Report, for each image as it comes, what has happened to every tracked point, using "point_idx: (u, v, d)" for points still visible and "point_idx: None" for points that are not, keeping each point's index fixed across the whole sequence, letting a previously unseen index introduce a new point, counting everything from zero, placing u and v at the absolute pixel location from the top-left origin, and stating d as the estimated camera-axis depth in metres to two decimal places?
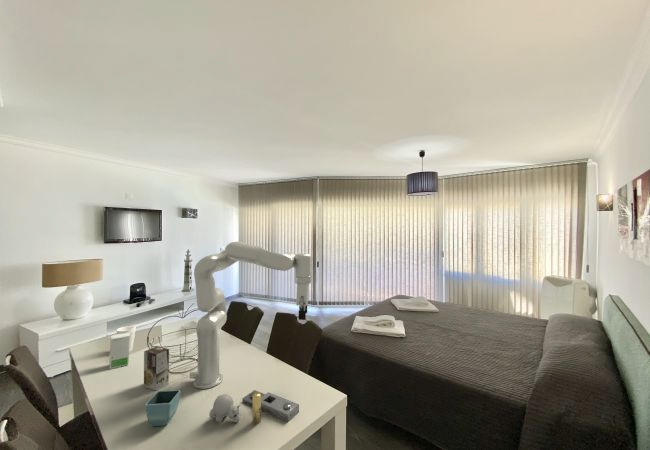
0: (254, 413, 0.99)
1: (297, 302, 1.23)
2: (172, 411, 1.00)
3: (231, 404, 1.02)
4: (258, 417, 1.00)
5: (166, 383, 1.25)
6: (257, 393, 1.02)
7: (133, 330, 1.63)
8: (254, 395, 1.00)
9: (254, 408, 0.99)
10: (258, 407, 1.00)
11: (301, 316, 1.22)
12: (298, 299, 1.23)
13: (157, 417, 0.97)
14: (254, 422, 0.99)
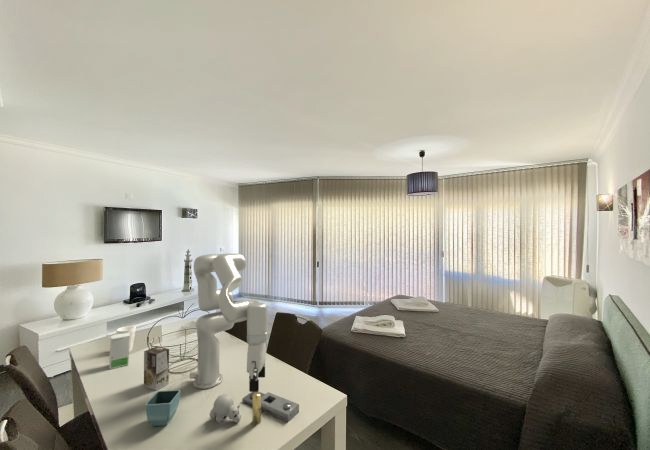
0: (254, 413, 0.99)
1: (247, 369, 0.96)
2: (172, 411, 1.00)
3: (231, 404, 1.02)
4: (258, 417, 1.00)
5: (166, 383, 1.25)
6: (257, 393, 1.02)
7: (133, 330, 1.63)
8: (254, 395, 1.00)
9: (254, 408, 0.99)
10: (258, 407, 1.00)
11: (252, 387, 0.95)
12: (249, 365, 0.96)
13: (157, 417, 0.97)
14: (254, 422, 0.99)
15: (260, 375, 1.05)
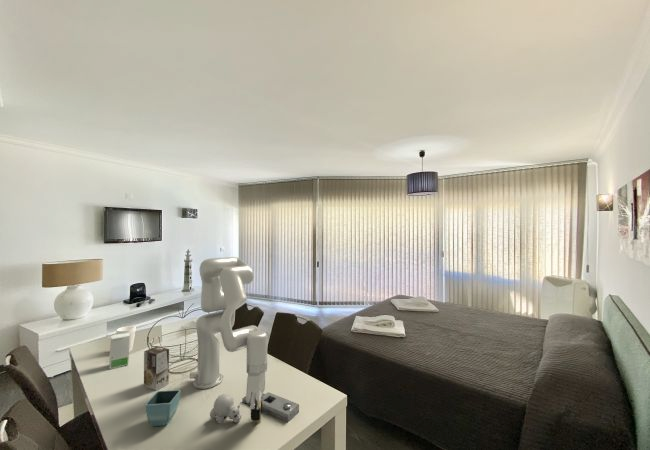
0: None
1: (247, 399, 0.96)
2: (172, 411, 1.00)
3: (231, 404, 1.02)
4: None
5: (166, 383, 1.25)
6: None
7: (133, 330, 1.63)
8: None
9: None
10: None
11: (254, 416, 0.98)
12: (248, 396, 0.96)
13: (157, 417, 0.97)
14: (254, 422, 0.99)
15: None
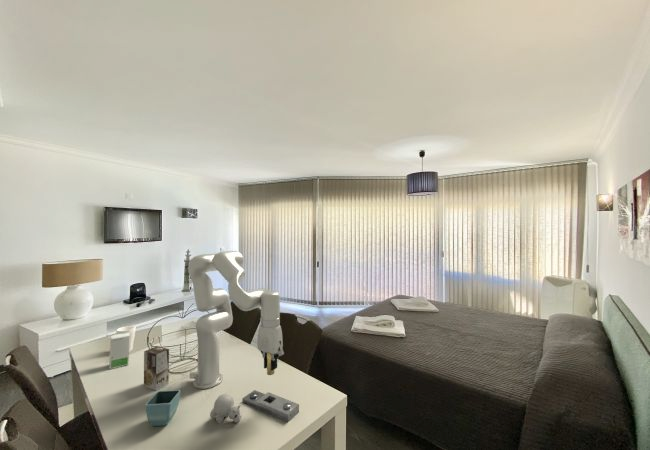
0: None
1: (276, 350, 1.06)
2: (172, 411, 1.00)
3: (232, 404, 1.02)
4: None
5: (166, 383, 1.25)
6: None
7: (133, 330, 1.63)
8: None
9: None
10: None
11: (275, 365, 1.08)
12: (277, 346, 1.06)
13: (157, 417, 0.97)
14: (272, 372, 1.09)
15: None
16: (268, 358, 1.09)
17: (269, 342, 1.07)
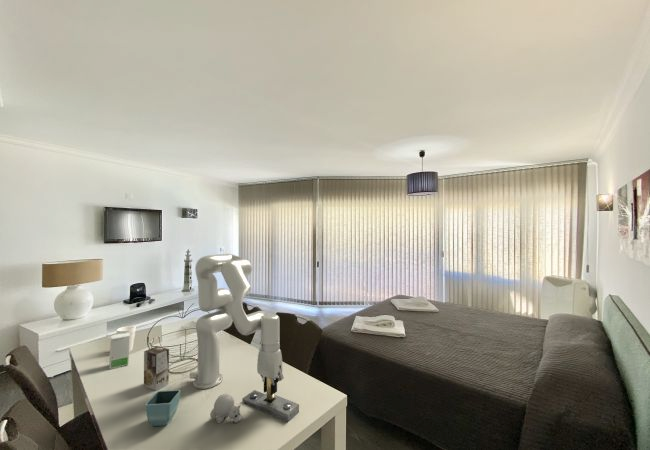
0: None
1: (276, 375, 1.06)
2: (172, 411, 1.00)
3: (232, 404, 1.02)
4: None
5: (166, 383, 1.25)
6: None
7: (133, 330, 1.63)
8: None
9: None
10: None
11: (275, 390, 1.08)
12: (277, 370, 1.06)
13: (157, 417, 0.97)
14: (272, 396, 1.09)
15: None
16: (268, 382, 1.09)
17: (269, 367, 1.07)
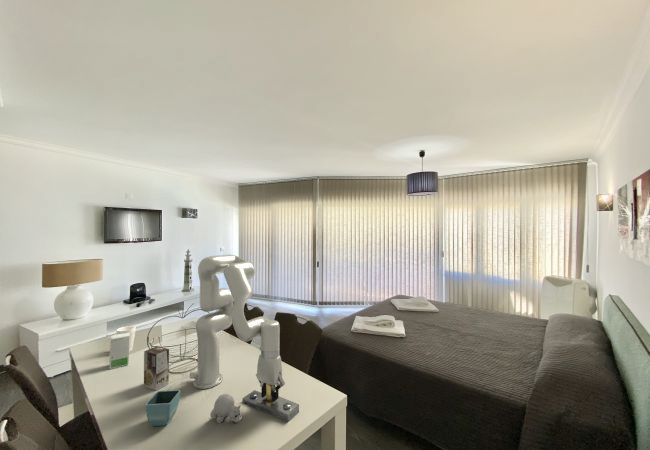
0: (271, 398, 1.09)
1: (275, 381, 1.06)
2: (172, 411, 1.00)
3: (232, 404, 1.02)
4: None
5: (166, 383, 1.25)
6: None
7: (133, 330, 1.63)
8: None
9: (271, 393, 1.09)
10: None
11: (276, 396, 1.08)
12: (276, 377, 1.06)
13: (157, 417, 0.97)
14: None
15: (265, 394, 1.11)
16: (267, 392, 1.09)
17: (269, 373, 1.07)
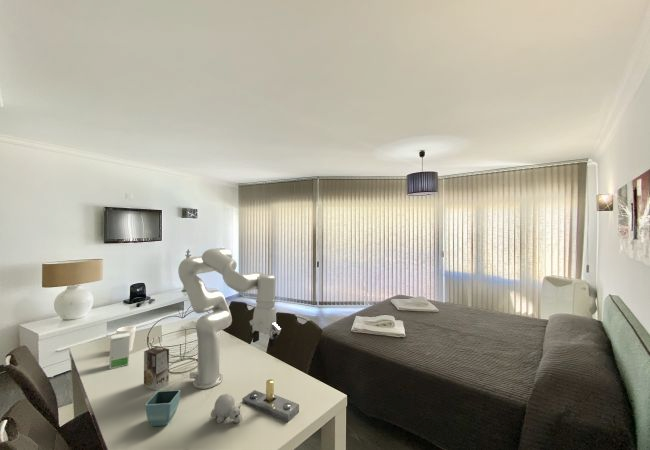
0: (271, 398, 1.09)
1: (269, 330, 1.11)
2: (172, 411, 1.00)
3: (232, 404, 1.02)
4: (273, 400, 1.10)
5: (166, 383, 1.25)
6: (268, 380, 1.10)
7: (133, 330, 1.63)
8: (269, 382, 1.09)
9: (271, 393, 1.09)
10: (273, 391, 1.10)
11: (273, 344, 1.12)
12: (270, 326, 1.12)
13: (157, 417, 0.97)
14: None
15: (256, 339, 1.18)
16: (267, 392, 1.09)
17: (263, 322, 1.12)
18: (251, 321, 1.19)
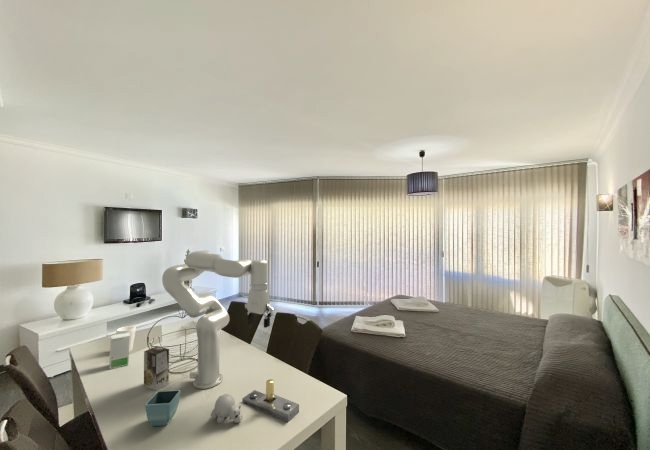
0: (271, 398, 1.09)
1: (263, 310, 1.20)
2: (172, 411, 1.00)
3: (232, 404, 1.02)
4: (273, 400, 1.10)
5: (166, 383, 1.25)
6: (268, 380, 1.10)
7: (133, 330, 1.63)
8: (269, 382, 1.09)
9: (271, 393, 1.09)
10: (273, 391, 1.10)
11: (268, 323, 1.21)
12: (264, 307, 1.20)
13: (157, 417, 0.97)
14: None
15: (251, 321, 1.26)
16: (267, 392, 1.09)
17: (257, 304, 1.21)
18: (246, 304, 1.27)
